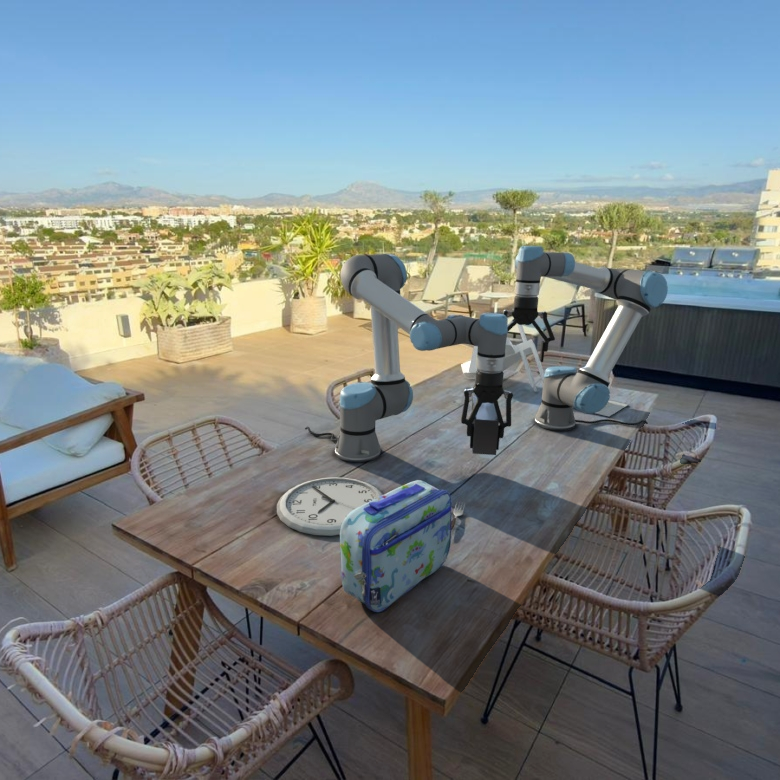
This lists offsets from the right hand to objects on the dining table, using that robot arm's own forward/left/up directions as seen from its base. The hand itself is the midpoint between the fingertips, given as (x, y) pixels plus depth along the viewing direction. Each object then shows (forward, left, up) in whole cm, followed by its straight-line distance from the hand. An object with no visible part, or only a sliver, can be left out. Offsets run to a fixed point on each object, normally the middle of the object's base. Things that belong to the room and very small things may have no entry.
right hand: (520, 360), depth 174 cm
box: (+12, +24, -19) cm, 33 cm away
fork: (+20, +53, -31) cm, 65 cm away
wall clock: (+53, +49, -31) cm, 79 cm away
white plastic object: (-2, -75, -31) cm, 81 cm away
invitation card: (-43, -50, -31) cm, 73 cm away
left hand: (+12, +32, -19) cm, 39 cm away
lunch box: (+32, +79, -31) cm, 91 cm away
